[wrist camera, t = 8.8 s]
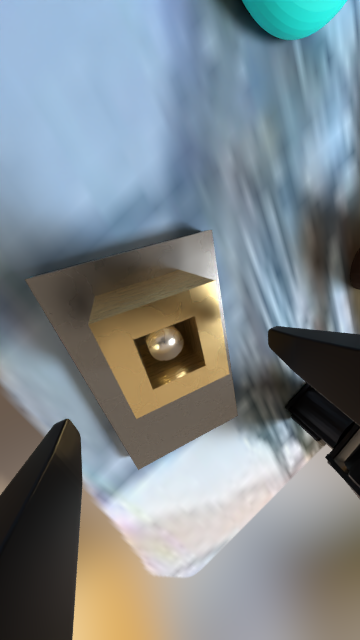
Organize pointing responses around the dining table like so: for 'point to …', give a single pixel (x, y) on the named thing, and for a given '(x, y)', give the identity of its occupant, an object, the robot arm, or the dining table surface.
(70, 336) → the base plate
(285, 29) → the donuts
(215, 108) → the dining table surface
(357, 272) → the coffee mug
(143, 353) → the brass collar
